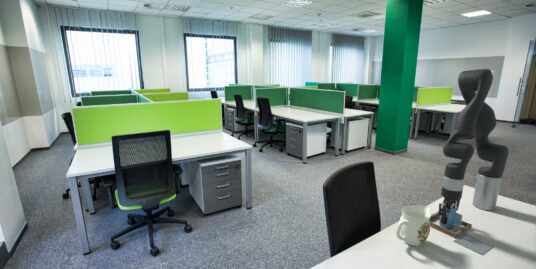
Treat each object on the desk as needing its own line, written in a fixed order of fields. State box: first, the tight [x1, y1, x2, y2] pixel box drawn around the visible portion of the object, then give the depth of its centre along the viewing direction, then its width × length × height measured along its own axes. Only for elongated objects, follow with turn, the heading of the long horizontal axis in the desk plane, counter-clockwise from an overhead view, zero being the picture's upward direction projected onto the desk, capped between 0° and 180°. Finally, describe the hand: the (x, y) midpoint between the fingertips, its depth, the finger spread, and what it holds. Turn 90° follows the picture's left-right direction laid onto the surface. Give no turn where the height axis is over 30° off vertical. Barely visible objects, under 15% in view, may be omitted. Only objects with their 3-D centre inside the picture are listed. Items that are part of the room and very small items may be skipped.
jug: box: [438, 207, 463, 230], centre depth 118 cm, size 8×6×9 cm
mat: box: [453, 233, 495, 256], centre depth 107 cm, size 10×10×1 cm
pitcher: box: [395, 205, 432, 247], centre depth 107 cm, size 11×18×14 cm, turn 116°
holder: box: [429, 210, 473, 239], centre depth 120 cm, size 14×14×2 cm
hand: (446, 221), depth 120 cm, fingers closed on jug, 5 cm apart
